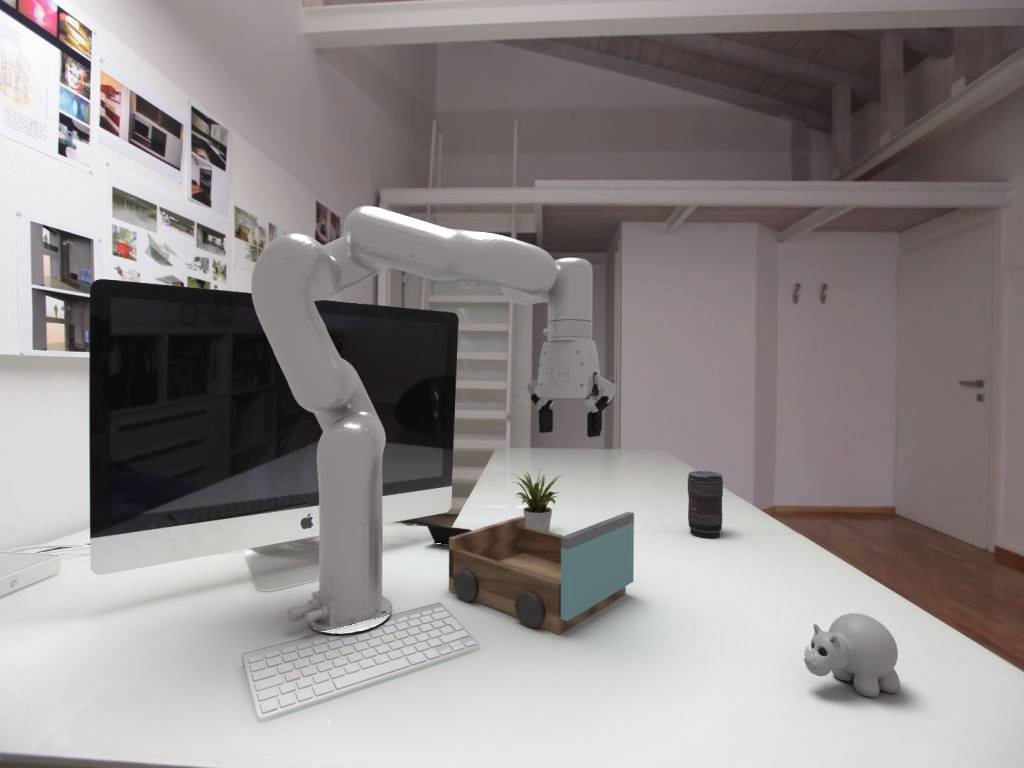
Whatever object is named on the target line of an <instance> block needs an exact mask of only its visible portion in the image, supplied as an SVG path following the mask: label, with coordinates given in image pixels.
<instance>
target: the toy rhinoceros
mask: <svg viewBox="0 0 1024 768" xmlns="http://www.w3.org/2000/svg"><path fill="white" fill-rule="evenodd" d="M812 625H813V630H814V631H813V632H814V633H813V636H812V638H811V641H810V648H809V645H806V647H805V649H804V658H803V661H804V664H805V667H806V669H807V670H808V672H809V673H810V674H813V675H815V676H817V677H825V676H828V675H829V674H830V673H831V672H832V675H833V676H834V677H835V678H836V679H838V680H842V681H845V682H853V687H854V689H855V691H856V692H857V693H858V694H859V695H862V696H863V697H864V696H865V697H868V698H869V697H870V698H876V697H878V696H879V695H880V691H882V692H885V693H889V694H897V693H899V691H900V690H901V682H900V681H901V680H900V677H899V675H898V673H897V671H896V669H895V667H896V664H897V662H898V658H899V650H898V646H897V643H896V640H895V638H894V636H893V634H892V633H891V632H890V630H889V629H888V628H887V627H886V626H885V625H884V624H883V623H881V622H880V621H879V620H878V619H876V618H873V617H872V616H869V615H866V614H863V613H857V612H856V613H855V612H853V613H845V614H843V615H840V616H839V617H837V618H836V619H835V620H834V621H833V622H832V623H831V624H830V627H829V628H828V631H823V630H822V629H821V628H820V626H819V625H818V624H816V623H813V624H812Z"/></svg>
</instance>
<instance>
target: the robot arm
mask: <svg viewBox="0 0 1024 768" xmlns="http://www.w3.org/2000/svg"><path fill="white" fill-rule="evenodd" d="M342 233H343V235H342V236H340V237H339V238H337V239H334V240H332V241H329V242H327V243H325V244H324V245H322V243H320V242H319V241H318V240H317V239H315V238H313V237H311V236H310V235H306V234H304V233H298V232H289V233H285V234H281V235H279V236H278V237H276V238H274V239H273V240H271V242H270V243H268V244H267V245H266V247H264V249H263V250H262V251H261V253H260V254H259V256H258V258H257V259H256V262H255V264H254V267H253V271H252V276H251V281H250V282H251V283H250V284H251V285H250V287H251V299H252V304H253V307H254V310H255V314H256V316H257V318H258V321H259V322H260V325H261V327H262V330H263V332H264V333H265V336H266V339H267V340H268V343H269V345H270V347H271V349H272V352H273V353H274V356H275V358H276V361H277V362H278V364H279V366H280V368H281V371H282V373H283V375H284V377H285V379H286V381H287V383H288V387H289V388H290V391H291V393H292V395H293V397H294V399H295V400H296V402H297V404H298V405H299V406H300V407H302V408H303V409H304V410H306V411H307V412H310V413H313V414H314V416H315V418H316V420H317V422H318V424H319V426H320V428H321V430H322V434H321V436H320V438H319V440H318V443H317V448H316V468H317V469H316V470H317V480H318V502H319V503H318V508H319V509H318V520H319V523H318V524H319V526H318V527H319V535H318V537H319V540H318V542H319V546H318V547H319V550H318V551H319V555H318V556H319V558H318V559H319V560H318V562H319V563H318V565H319V566H318V567H319V571H318V572H319V575H318V578H319V579H318V585H319V586H318V588H319V589H318V590H315V591H313V592H312V599H309V600H307V603H305V604H300V605H296V606H293V607H290V608H288V610H287V612H286V613H287V614H286V615H287V619H288V621H289V623H294V622H297V621H299V620H302V619H304V621H305V623H306V624H310V625H311V626H312V627H313V628H315V629H316V630H318V631H317V632H319V631H327V630H332V629H337V628H341V627H344V626H349V625H352V624H356V623H359V622H363V621H367V620H371V619H376V618H380V617H384V616H387V615H390V614H391V615H392V614H393V604H392V602H391V601H390V600H389V599H388V598H387V597H386V596H383V522H384V521H383V455H384V450H385V447H386V441H387V437H386V432H385V428H384V426H383V424H382V421H381V420H380V418H379V415H378V414H377V410H376V409H375V407H374V404H373V403H372V401H371V398H370V397H369V394H368V393H367V389H366V388H365V386H364V383H363V382H362V380H361V378H360V376H359V374H358V372H357V370H356V369H355V368H354V366H353V365H352V364H351V363H350V362H348V361H347V360H346V359H344V358H342V357H341V355H340V353H339V351H338V350H337V348H336V346H335V343H334V341H333V340H332V338H331V336H330V334H329V331H328V329H327V326H326V324H325V322H324V321H323V318H322V316H321V315H320V313H319V310H318V309H317V306H316V304H315V302H319V301H325V300H327V299H330V298H333V297H334V296H337V295H338V294H341V293H342V292H345V291H347V290H349V289H351V288H353V287H355V286H357V285H360V284H361V283H363V282H365V281H368V280H370V279H371V278H373V277H374V276H377V275H378V274H381V273H382V272H384V271H386V270H387V269H388V268H391V269H395V270H398V271H402V272H406V273H409V274H412V275H416V276H419V277H423V278H426V279H430V280H434V281H438V282H439V281H440V282H450V281H457V280H474V281H480V282H485V283H491V284H494V285H496V286H497V285H498V286H500V288H501V291H502V293H503V295H504V297H505V298H506V299H508V300H509V301H510V302H512V303H513V304H517V305H532V304H542V303H547V327H545V328H543V330H542V334H543V335H544V337H545V336H546V337H547V341H543V344H542V346H541V351H540V357H539V364H538V373H537V375H538V377H537V378H535V379H534V380H533V381H531V382H529V383H528V384H527V386H526V388H527V390H528V392H529V395H530V399H531V401H532V402H533V403H534V405H535V409H536V410H538V432H539V433H541V434H546V433H552V432H553V429H554V424H553V423H554V411H553V409H552V408H551V407H552V406H553V404H554V403H555V401H583V402H584V403H585V404H586V406H587V407H588V409H589V410H590V412H587V417H586V419H587V420H586V431H587V432H586V436H587V437H589V438H597V437H600V436H601V433H602V429H603V412H605V410H606V408H607V407H608V406H609V405H610V404H611V403H612V401H613V397H614V396H615V394H616V392H617V389H618V386H617V385H616V384H615V383H613V382H611V381H609V380H608V379H606V378H605V377H602V376H601V373H600V372H601V370H600V362H599V354H598V349H597V345H596V344H597V343H596V341H595V340H593V280H594V279H593V276H594V275H593V273H594V272H593V266H592V264H591V262H590V261H589V260H587V259H585V258H580V257H565V258H564V257H562V258H559V259H558V258H557V259H554V258H553V257H552V255H551V254H550V253H549V252H548V251H546V250H544V249H543V248H541V247H539V246H538V245H537V246H536V245H535V244H531V243H529V242H525V241H521V240H519V239H516V238H513V237H509V236H505V235H501V234H496V233H491V232H486V231H485V232H484V231H475V230H473V231H472V230H465V229H453V228H450V227H449V228H448V227H444V226H441V225H438V224H434V223H431V222H429V221H428V222H427V221H424V220H421V219H418V218H416V217H415V218H414V217H412V216H407V215H405V214H403V213H398V212H395V211H391V210H390V209H385V208H381V207H378V206H373V205H363V206H357V207H356V208H355V209H352V211H350V213H349V214H348V215H347V217H346V218H345V221H344V225H343V232H342ZM601 389H603V390H604V391H603V393H602V396H601V397H600V398H599V396H600V394H601V393H600V391H601ZM310 625H309V626H310ZM311 626H310V627H311ZM312 627H311V628H312ZM313 628H312V629H313ZM316 630H315V631H316Z"/></svg>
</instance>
